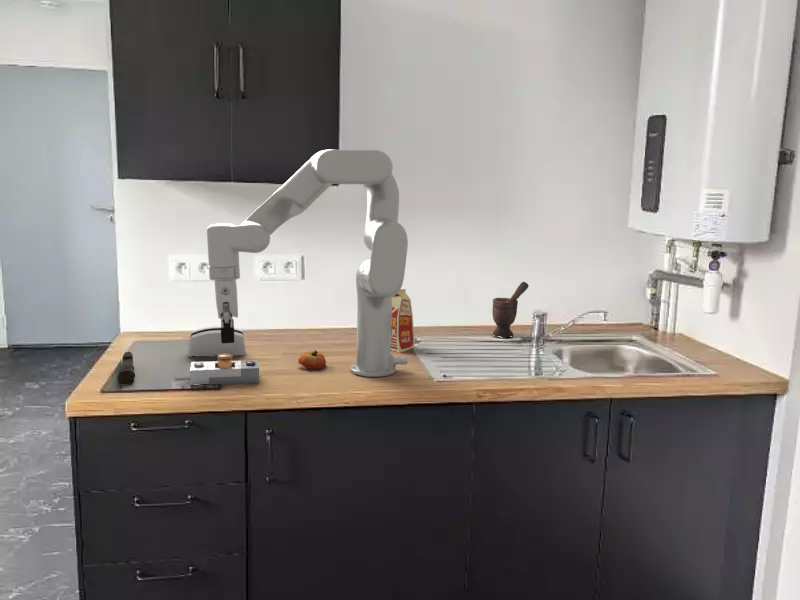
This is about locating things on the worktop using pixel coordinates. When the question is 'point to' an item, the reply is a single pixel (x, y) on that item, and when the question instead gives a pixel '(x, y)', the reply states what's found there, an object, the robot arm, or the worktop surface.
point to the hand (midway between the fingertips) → (228, 338)
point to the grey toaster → (215, 343)
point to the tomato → (312, 360)
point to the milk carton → (402, 322)
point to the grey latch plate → (224, 373)
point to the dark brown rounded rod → (127, 369)
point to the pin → (224, 360)
